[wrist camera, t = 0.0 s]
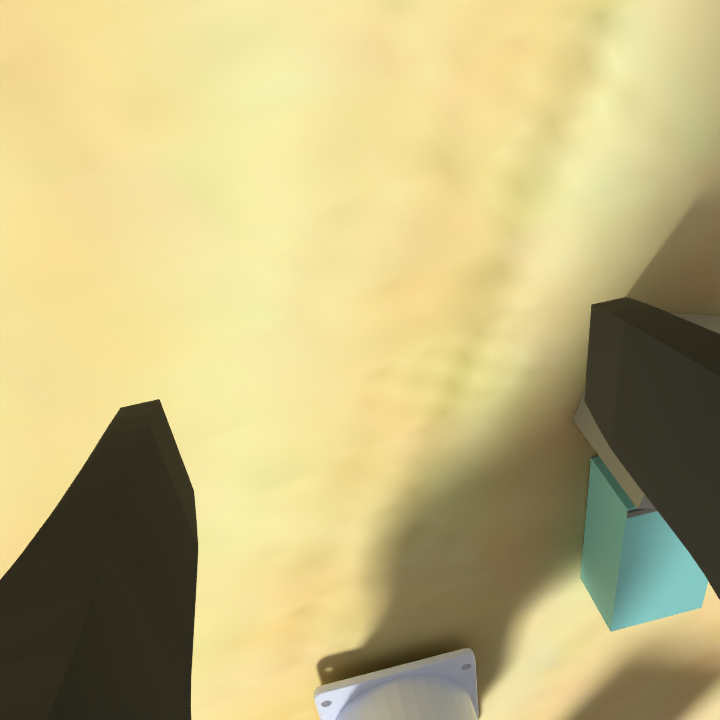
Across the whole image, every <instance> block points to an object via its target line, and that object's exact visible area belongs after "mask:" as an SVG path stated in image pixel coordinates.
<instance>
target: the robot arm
mask: <svg viewBox="0 0 720 720" xmlns="http://www.w3.org/2000/svg"><path fill="white" fill-rule="evenodd" d="M584 401H585V403H586V405H587V407H588V409H589V411H590V413H591V414H592V416H593V418H594V420H595V422H596V424H597V426H598V428H599V429H600V431H601V433H602V435H603V436H604V438H605V440H606V442H607V443H608V445H609V447H610V448H611V450H612V451H613V453H614V454H615V455H616V457H617V458H618V460H619V461H620V462H621V464H622V465H623V466H624V468H625V469H626V470H627V472H628V473H629V474H630V476H631V477H632V478H633V480H634V481H635V482H636V484H637V485H638V486H639V488H640V489H641V490H642V491H643V493H644V494H645V495H646V497H647V498H648V499H649V501H650V502H651V503H652V505H653V506H654V507H655V509H656V510H657V511H658V512H659V514H660V515H661V516H662V518H663V519H664V520H665V522H666V523H667V524H668V526H669V527H670V528H671V529H672V531H673V532H674V533H675V535H676V536H677V537H678V539H679V540H680V541H681V543H682V544H683V545H684V546H685V548H686V549H687V550H688V552H689V553H690V555H691V556H692V558H693V559H694V560H695V562H696V563H697V565H698V566H699V568H700V569H701V570H702V572H703V573H704V575H705V576H706V578H707V580H708V581H709V583H710V585H711V586H712V588H713V589H714V591H715V593H716V594H717V596H718V598H719V599H720V334H719V333H716V332H714V331H712V330H709V329H707V328H704V327H702V326H699V325H697V324H695V323H692V322H690V321H687V320H685V319H683V318H680V317H678V316H675V315H673V314H670V313H668V312H666V311H663V310H661V309H658V308H656V307H653V306H650V305H648V304H645V303H642V302H639V301H637V300H633V299H630V298H627V297H625V298H620V299H615V300H611V301H606V302H602V303H597V304H593V305H591V319H590V332H589V345H588V359H587V372H586V385H585V399H584ZM197 563H198V537H197V521H196V509H195V497H194V490H193V487H192V485H191V482H190V479H189V477H188V474H187V471H186V469H185V466H184V463H183V461H182V458H181V455H180V453H179V450H178V447H177V445H176V442H175V439H174V437H173V434H172V431H171V429H170V426H169V423H168V421H167V418H166V416H165V413H164V410H163V408H162V405H161V402H160V400H159V399H158V400H154V401H149V402H145V403H140V404H135V405H131V406H126V407H122V408H120V410H119V411H118V413H117V414H116V416H115V417H114V419H113V420H112V422H111V423H110V425H109V426H108V428H107V429H106V431H105V432H104V434H103V436H102V437H101V439H100V440H99V442H98V444H97V445H96V447H95V448H94V450H93V452H92V453H91V455H90V456H89V458H88V460H87V461H86V463H85V464H84V466H83V467H82V469H81V470H80V472H79V474H78V475H77V477H76V478H75V480H74V481H73V483H72V484H71V485H70V487H69V488H68V490H67V491H66V493H65V494H64V496H63V497H62V499H61V500H60V502H59V503H58V505H57V506H56V508H55V509H54V511H53V512H52V514H51V515H50V516H49V518H48V519H47V520H46V522H45V523H44V524H43V526H42V527H41V528H40V530H39V531H38V532H37V534H36V535H35V536H34V538H33V539H32V541H31V542H30V543H29V545H28V546H27V547H26V549H25V550H24V551H23V553H22V554H21V555H20V556H19V558H18V559H17V560H16V561H15V563H14V564H13V565H12V566H11V568H10V569H9V570H8V571H7V572H6V574H5V575H4V576H3V577H2V578H1V580H0V720H191V670H192V653H193V635H194V618H195V601H196V582H197ZM314 700H315V703H316V706H317V710H318V713H319V716H320V719H321V720H479V713H478V695H477V677H476V660H475V655H474V653H473V650H471V649H469V648H464V649H460V650H456V651H452V652H448V653H444V654H440V655H437V656H433V657H429V658H425V659H421V660H417V661H414V662H410V663H406V664H402V665H398V666H394V667H390V668H387V669H383V670H379V671H375V672H371V673H367V674H364V675H360V676H356V677H352V678H348V679H344V680H340V681H337V682H333V683H329V684H325V685H322V686H319V687H317V688H316V689H315V691H314Z"/></svg>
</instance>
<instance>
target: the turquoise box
mask: <svg viewBox="0 0 720 720" xmlns="http://www.w3.org/2000/svg"><path fill="white" fill-rule="evenodd" d="M581 580H582V582H583V583H584V585H585V587H586V589H587V591H588V592H589V594H590V596H591V598H592V599H593V601H594V603H595V605H596V606H597V608H598V610H599V612H600V614H601V615H602V617H603V619H604V621H605V622H606V624H607V626H608V628H609V629H610V631H615V630H618V629H622V628H626V627H630V626H634V625H637V624H641V623H645V622H649V621H653V620H656V619H660V618H664V617H668V616H672V615H675V614H679V613H683V612H687V611H691V610H694V609H698V608H701V607H702V603H703V599H704V596H705V592H706V588H707V584H708V580H707V578H706V576H705V575H704V573H703V572H702V570H701V569H700V568H699V566H698V565H697V563H696V562H695V560H694V559H693V558H692V556H691V555H690V553H689V552H688V550H687V549H686V548H685V546H684V545H683V544H682V543H681V541H680V540H679V539H678V537H677V536H676V535H675V533H674V532H673V531H672V529H671V528H670V527H669V526H668V524H667V523H666V522H665V520H664V519H663V518H662V516H661V515H660V514H659V512H658V511H657V510H656V509H655V508H646V509H637V508H636V506H635V505H634V503H633V502H632V501H631V499H630V498H629V497H628V495H627V494H626V492H625V491H624V490H623V488H622V487H621V486H620V484H619V483H618V482H617V480H616V479H615V477H614V476H613V475H612V473H611V472H610V471H609V469H608V468H607V466H606V465H605V464H604V462H603V461H602V460H601V458H600V457H599V456H597V457H593V458H591V463H590V475H589V486H588V498H587V509H586V521H585V532H584V544H583V555H582V566H581Z"/></svg>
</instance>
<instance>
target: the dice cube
mask: <svg viewBox="0 0 720 720" xmlns="http://www.w3.org/2000/svg"><path fill="white" fill-rule="evenodd" d="M670 314H673V315H675V316H678V317H680V318H683V319H685V320H687V321H690V322H692V323H695V324H697V325H699V326H702V327H704V328H707V329H709V330H712V331H714V332H716V333H719V334H720V315H707V314H685V313H670ZM584 399H585V389H584V392H583V394H582V397H581V400H580V402H579V405H578V407H577V410H576V412H575V415H574V417H573V421H574V423H575V424H576V425H577V427H578V428H579V429H580V431H581V432H582V434H583V435H584V436H585V438H586V439H587V440H588V442H589V443H590V444H591V446H592V447H593V449H594V450H595V451H596V453H597V454H598V455H599V457H600V458H601V460H602V461H603V462H604V464H605V465H606V466H607V468H608V469H609V471H610V472H611V473H612V475H613V476H614V477H615V479H616V480H617V482H618V483H619V484H620V486H621V487H622V488H623V490H624V491H625V492H626V494H627V495H628V497H629V498H630V499H631V501H632V502H633V503H634V505H635V506H636V508H637V509H646V508H655V507H654V506H653V505H652V503H651V502H650V501H649V499H648V498H647V497H646V495H645V494H644V493H643V491H642V490H641V489H640V488H639V486H638V485H637V484H636V482H635V481H634V480H633V478H632V477H631V476H630V474H629V473H628V472H627V470H626V469H625V468H624V466H623V465H622V464H621V462H620V461H619V460H618V458H617V457H616V455H615V454H614V453H613V451H612V450H611V448H610V447H609V445H608V443H607V442H606V440H605V438H604V436H603V435H602V433H601V431H600V429H599V428H598V426H597V424H596V422H595V420H594V418H593V416H592V414H591V413H590V411H589V409H588V407H587V405H586V403H585V401H584Z"/></svg>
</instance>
